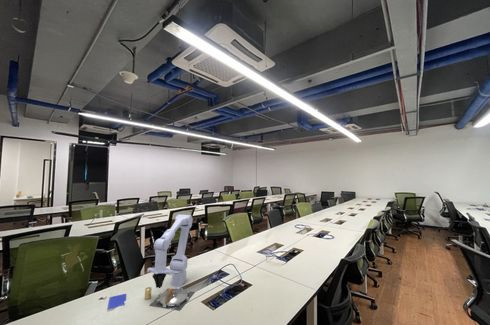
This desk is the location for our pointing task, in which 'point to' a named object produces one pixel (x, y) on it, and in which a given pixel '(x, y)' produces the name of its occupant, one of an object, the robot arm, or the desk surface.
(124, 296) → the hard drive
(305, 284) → the desk surface
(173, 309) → the base plate
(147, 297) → the roller
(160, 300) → the tabbed metal disc
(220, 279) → the desk surface
